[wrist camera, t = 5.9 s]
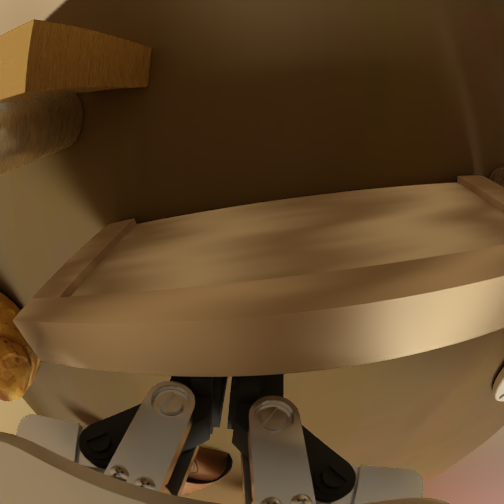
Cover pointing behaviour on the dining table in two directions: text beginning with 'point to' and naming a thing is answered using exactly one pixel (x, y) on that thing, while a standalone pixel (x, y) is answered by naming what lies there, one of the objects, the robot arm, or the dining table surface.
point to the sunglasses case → (207, 469)
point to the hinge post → (498, 176)
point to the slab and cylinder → (57, 84)
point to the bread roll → (14, 355)
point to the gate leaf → (280, 284)
